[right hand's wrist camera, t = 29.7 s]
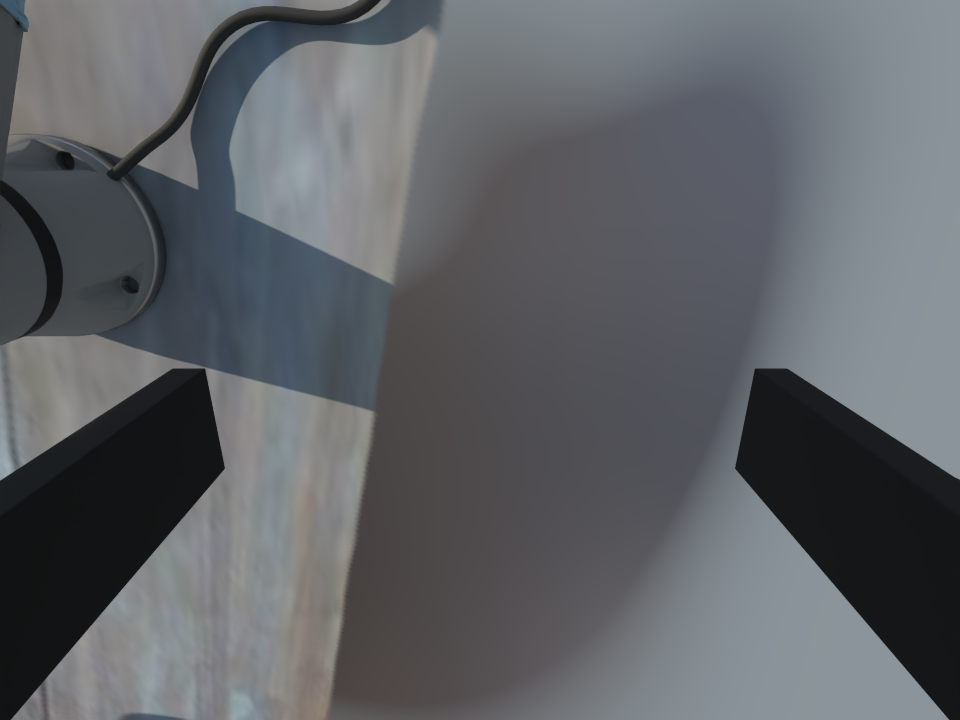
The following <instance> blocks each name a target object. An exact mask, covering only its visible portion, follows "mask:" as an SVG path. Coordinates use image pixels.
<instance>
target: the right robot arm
mask: <svg viewBox="0 0 960 720" xmlns="http://www.w3.org/2000/svg"><path fill="white" fill-rule="evenodd" d="M379 2H380V0H359V1H357V2H355V3H354V4H352V5H350V6H347V7H345V8H342V9H337V10H331V11H315V10H305V9H297V8H289V7H278V6H262V7H254V8H250V9H247V10H243V11H240V12H238V13H236V14H235V15H233V16H231V17H229V18H228V19H226V20H225V21H224V22H223V23H221V24H220V25H219V26H218V27H217V28H216V29H215V30H214V32H213V33H212V34H211V35H210V37H209V38H208V40H207V41H206V43H205V44H204V46H203V48H202V50H201V52H200V54H199V57H198V59H197V62H196V64H195V67H194V70H193V73H192V75H191V78H190V81H189V84H188V86H187V89H186V91H185V94H184V96H183V98H182V100H181V102H180V104H179V106H178V107H177V109H176V111H175V112H174V113H173V115H172V116H171V117H170V119H169V120H168V121H167V122H166V123H165V124H164V125H163V126H162V127H161V128H160V129H158V130H157V131H156V132H155V133H153V134H152V135H151V136H149V137H148V138H147V139H145V140H144V141H143V142H142V143H140V144H139V145H138V146H137V147H136V148H134V149H133V150H132V151H131V152H130V153H129V154H128V155H126V156H125V157H124V158H123V159H122V160H121V161H120V162H118V163H117V164H115V163H114V162H112V161H111V160H110V159H108V158H107V157H105V156H104V155H102V154H101V153H99V152H97V151H96V150H94V149H92V148H90V147H88V146H86V145H83V144H81V143H78V142H76V141H73V140H69V139H66V138H62V137H56V136H49V135H36V134H14V135H9V129H10V122H11V115H12V108H13V101H14V94H15V87H16V80H17V73H18V66H19V59H20V52H21V44H22V37H23V31H24V32H28V27H29V23H28V19H27V17H26V16H25V14H24V6H25V0H0V345H3V344H5V343H8V342H10V341H13V340H16V339H18V338H21V337H24V336H84V335H91V334H96V333H101V332H105V331H108V330H111V329H114V328H116V327H118V326H121V325H123V324H125V323H127V322H129V321H131V320H133V319H135V318H136V317H138V316H139V315H140V314H141V313H143V312H144V311H145V310H146V309H147V308H148V307H149V306H150V304H151V303H152V301H153V300H154V299H155V297H156V295H157V293H158V291H159V289H160V286H161V284H162V280H163V277H164V271H165V246H164V240H163V236H162V231H161V228H160V225H159V222H158V220H157V218H156V215H155V213H154V211H153V209H152V207H151V205H150V203H149V202H148V200H147V199H146V197H145V195H144V194H143V193H142V191H141V190H140V189H139V187H138V186H137V185H136V183H135V182H134V181H133V180H132V179H131V178H130V177H129V176H128V175H127V174H126V173H127V172H129V171H130V170H131V169H132V168H133V167H134V166H135V165H137V164H138V163H139V162H140V161H141V160H142V159H143V158H145V157H146V156H147V155H148V154H149V153H151V152H152V151H153V150H154V149H156V148H157V147H158V146H160V145H161V144H162V143H164V142H165V141H166V140H167V139H169V138H170V137H171V136H172V135H173V134H174V133H175V132H176V131H177V130H178V129H179V128H180V127H181V125H182V124H183V123H184V121H185V120H186V119H187V117H188V115H189V114H190V112H191V110H192V109H193V106H194V104H195V102H196V100H197V98H198V95H199V93H200V91H201V88H202V85H203V82H204V80H205V77H206V74H207V72H208V69H209V66H210V64H211V62H212V60H213V57H214V56H215V54H216V52H217V50H218V49H219V47H220V46H221V45H222V43H223V42H224V41H225V40H226V39H227V38H228V37H229V36H230V35H231V34H233V33H234V32H235V31H236V30H238V29H240V28H242V27H244V26H246V25H248V24H252V23H255V22H261V21H286V22H295V23H303V24H311V25H336V24H342V23H346V22H349V21H352V20H354V19H357V18H359V17H360V16H362V15H364V14H365V13H367V12H369V11H370V10H371V9H372V8H373V7H374V6H375V5H377V4H378V3H379ZM224 469H225V467H224V462H223V457H222V451H221V446H220V441H219V436H218V431H217V426H216V421H215V416H214V411H213V406H212V401H211V396H210V391H209V386H208V381H207V376H206V371H205V369H172V370H170V371H168V372H167V373H165V374H164V375H162V376H161V377H159V378H158V379H156V380H155V381H153V382H152V383H150V384H148V385H147V386H145V387H144V388H142V389H141V390H139V391H138V392H136V393H135V394H133V395H132V396H130V397H128V398H127V399H125V400H124V401H122V402H121V403H119V404H118V405H116V406H115V407H113V408H111V409H110V410H108V411H107V412H105V413H104V414H102V415H101V416H99V417H98V418H96V419H95V420H93V421H91V422H90V423H88V424H87V425H85V426H84V427H82V428H81V429H79V430H78V431H76V432H75V433H73V434H71V435H70V436H68V437H67V438H65V439H64V440H62V441H61V442H59V443H58V444H56V445H55V446H53V447H51V448H50V449H48V450H47V451H45V452H44V453H42V454H41V455H39V456H38V457H36V458H34V459H33V460H31V461H30V462H28V463H27V464H25V465H24V466H22V467H21V468H19V469H18V470H16V471H14V472H13V473H11V474H10V475H8V476H7V477H5V478H4V479H2V480H1V481H0V720H11V719H12V718H13V716H14V715H15V714H16V713H17V712H18V711H19V709H20V708H21V707H22V706H23V705H24V704H25V702H26V701H27V700H28V699H29V698H30V697H31V695H32V694H33V693H34V692H35V691H36V690H37V688H38V687H39V686H40V685H41V684H42V682H43V681H44V680H45V679H46V678H47V677H48V675H49V674H50V673H51V672H52V671H53V670H54V668H55V667H56V666H57V665H58V664H59V663H60V661H61V660H62V659H63V658H64V657H65V655H66V654H67V653H68V652H69V651H70V650H71V648H72V647H73V646H74V645H75V644H76V643H77V641H78V640H79V639H80V638H81V637H82V636H83V634H84V633H85V632H86V631H87V630H88V628H89V627H90V626H91V625H92V624H93V623H94V621H95V620H96V619H97V618H98V617H99V616H100V614H101V613H102V612H103V611H104V610H105V609H106V607H107V606H108V605H109V604H110V603H111V602H112V600H113V599H114V598H115V597H116V596H117V594H118V593H119V592H120V591H121V590H122V589H123V587H124V586H125V585H126V584H127V583H128V582H129V580H130V579H131V578H132V577H133V576H134V575H135V573H136V572H137V571H138V570H139V569H140V567H141V566H142V565H143V564H144V563H145V562H146V560H147V559H148V558H149V557H150V556H151V555H152V553H153V552H154V551H155V550H156V549H157V548H158V546H159V545H160V544H161V543H162V542H163V541H164V539H165V538H166V537H167V536H168V535H169V533H170V532H171V531H172V530H173V529H174V528H175V526H176V525H177V524H178V523H179V522H180V521H181V519H182V518H183V517H184V516H185V515H186V514H187V512H188V511H189V510H190V509H191V508H192V506H193V505H194V504H195V503H196V502H197V501H198V499H199V498H200V497H201V496H202V495H203V494H204V492H205V491H206V490H207V489H208V488H209V487H210V485H211V484H212V483H213V482H214V481H215V480H216V478H217V477H218V476H219V475H220V474H221V472H222V471H223V470H224ZM735 469H736V470H737V471H738V472H739V474H740V475H741V476H742V477H743V478H744V480H745V481H746V482H747V483H748V484H749V485H750V487H751V488H752V489H753V490H754V491H755V492H756V494H757V495H758V496H759V497H760V498H761V499H762V501H763V502H764V503H765V504H766V505H767V506H768V508H769V509H770V510H771V511H772V512H773V513H774V515H775V516H776V517H777V518H778V519H779V521H780V522H781V523H782V524H783V525H784V526H785V528H786V529H787V530H788V531H789V532H790V533H791V535H792V536H793V537H794V538H795V539H796V540H797V542H798V543H799V544H800V545H801V546H802V548H803V549H804V550H805V551H806V552H807V553H808V555H809V556H810V557H811V558H812V559H813V560H814V562H815V563H816V564H817V565H818V566H819V567H820V569H821V570H822V571H823V572H824V573H825V575H826V576H827V577H828V578H829V579H830V580H831V582H832V583H833V584H834V585H835V586H836V587H837V589H838V590H839V591H840V592H841V593H842V594H843V596H844V597H845V598H846V599H847V600H848V602H849V603H850V604H851V605H852V606H853V607H854V609H855V610H856V611H857V612H858V613H859V614H860V616H861V617H862V618H863V619H864V620H865V621H866V623H867V624H868V625H869V626H870V627H871V628H872V630H873V631H874V632H875V633H876V634H877V636H878V637H879V638H880V639H881V640H882V641H883V643H884V644H885V645H886V646H887V647H888V648H889V650H890V651H891V652H892V653H893V654H894V655H895V657H896V658H897V659H898V660H899V661H900V663H901V664H902V665H903V666H904V667H905V668H906V670H907V671H908V672H909V673H910V674H911V675H912V677H913V678H914V679H915V680H916V681H917V682H918V684H919V685H920V686H921V687H922V688H923V689H924V691H925V692H926V693H927V694H928V695H929V696H930V698H931V699H932V700H933V701H934V702H935V704H936V705H937V706H938V707H939V708H940V709H941V711H942V712H943V713H944V714H945V715H946V716H947V718H948V719H949V720H960V480H959V479H957V478H955V477H953V476H952V475H950V474H949V473H947V472H945V471H944V470H942V469H941V468H939V467H938V466H936V465H935V464H933V463H932V462H930V461H929V460H927V459H926V458H924V457H922V456H921V455H919V454H918V453H916V452H915V451H913V450H912V449H910V448H909V447H907V446H905V445H904V444H902V443H901V442H899V441H898V440H896V439H895V438H893V437H892V436H890V435H889V434H887V433H885V432H884V431H882V430H881V429H879V428H878V427H876V426H875V425H873V424H872V423H870V422H868V421H867V420H865V419H864V418H862V417H861V416H859V415H858V414H856V413H855V412H853V411H852V410H850V409H849V408H847V407H845V406H844V405H842V404H841V403H839V402H838V401H836V400H835V399H833V398H832V397H830V396H828V395H827V394H825V393H824V392H822V391H821V390H819V389H818V388H816V387H815V386H813V385H812V384H810V383H808V382H807V381H805V380H804V379H802V378H801V377H799V376H798V375H796V374H795V373H793V372H792V371H790V370H788V369H755V371H754V376H753V381H752V386H751V391H750V396H749V401H748V406H747V411H746V416H745V421H744V426H743V431H742V437H741V441H740V446H739V451H738V457H737V462H736V467H735Z"/></svg>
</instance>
